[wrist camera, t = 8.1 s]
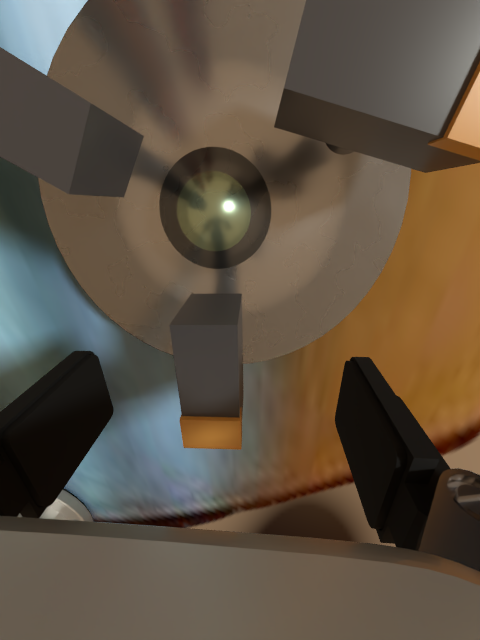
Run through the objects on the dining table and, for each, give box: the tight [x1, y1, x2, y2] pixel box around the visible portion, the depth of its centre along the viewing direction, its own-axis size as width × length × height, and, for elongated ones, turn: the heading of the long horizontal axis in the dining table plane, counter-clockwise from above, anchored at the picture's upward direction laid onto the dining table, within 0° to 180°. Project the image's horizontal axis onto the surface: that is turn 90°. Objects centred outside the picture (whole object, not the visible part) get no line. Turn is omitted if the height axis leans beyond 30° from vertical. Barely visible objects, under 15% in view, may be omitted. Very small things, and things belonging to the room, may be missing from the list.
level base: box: [38, 0, 411, 364], centre depth 13 cm, size 18×18×4 cm
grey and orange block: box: [274, 0, 480, 173], centre depth 8 cm, size 6×2×6 cm, turn 76°
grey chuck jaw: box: [169, 294, 243, 449], centre depth 13 cm, size 6×2×6 cm, turn 1°
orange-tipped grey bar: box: [0, 47, 144, 197], centre depth 9 cm, size 6×2×6 cm, turn 61°
